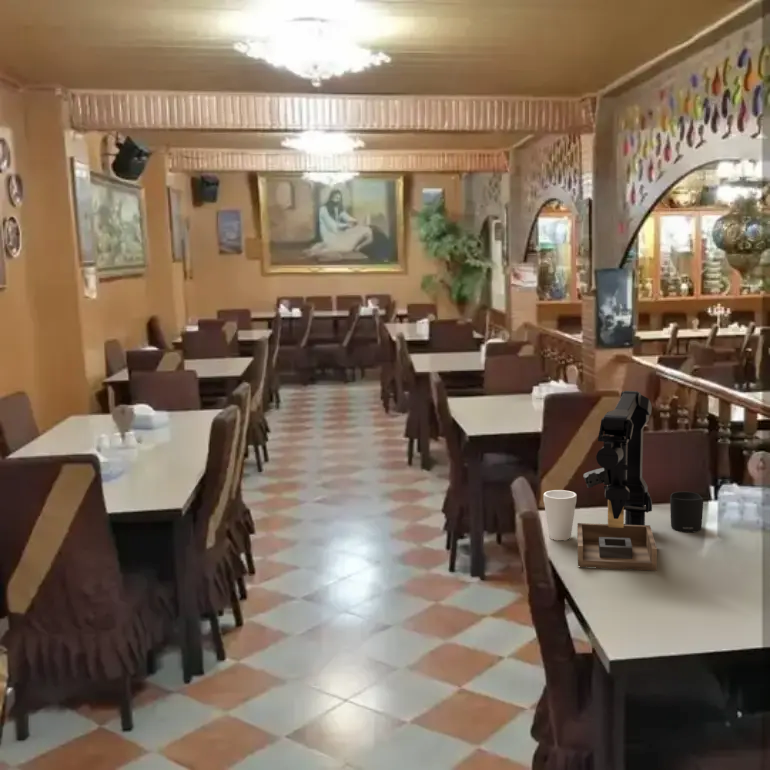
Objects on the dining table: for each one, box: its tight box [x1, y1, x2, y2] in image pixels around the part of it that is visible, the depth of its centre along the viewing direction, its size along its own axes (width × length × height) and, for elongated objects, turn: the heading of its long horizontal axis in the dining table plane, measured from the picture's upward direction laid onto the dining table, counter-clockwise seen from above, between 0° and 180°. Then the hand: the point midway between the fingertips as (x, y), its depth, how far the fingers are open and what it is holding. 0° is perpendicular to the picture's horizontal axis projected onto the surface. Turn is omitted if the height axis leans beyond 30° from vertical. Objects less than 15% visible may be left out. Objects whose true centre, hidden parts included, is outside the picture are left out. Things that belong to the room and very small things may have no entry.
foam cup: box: [543, 489, 578, 541], centre depth 259 cm, size 10×9×13 cm
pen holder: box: [669, 491, 704, 533], centre depth 264 cm, size 9×9×10 cm
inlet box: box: [576, 522, 658, 572], centre depth 242 cm, size 20×20×6 cm
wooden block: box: [607, 499, 625, 528], centre depth 241 cm, size 4×4×8 cm
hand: (615, 516), depth 241 cm, fingers closed on wooden block, 4 cm apart
